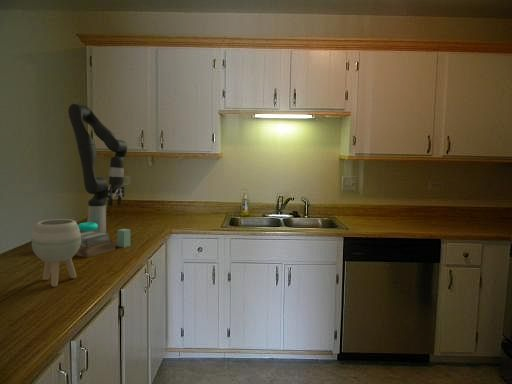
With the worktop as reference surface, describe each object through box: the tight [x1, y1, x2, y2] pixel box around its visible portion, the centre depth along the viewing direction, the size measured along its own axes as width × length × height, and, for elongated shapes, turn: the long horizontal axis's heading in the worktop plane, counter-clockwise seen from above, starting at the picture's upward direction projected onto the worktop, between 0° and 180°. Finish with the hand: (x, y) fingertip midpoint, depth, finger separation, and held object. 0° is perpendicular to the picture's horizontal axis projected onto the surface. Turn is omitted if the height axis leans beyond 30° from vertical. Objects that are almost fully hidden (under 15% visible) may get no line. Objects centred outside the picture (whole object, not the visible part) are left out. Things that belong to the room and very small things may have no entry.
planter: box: [31, 218, 81, 288], centre depth 142 cm, size 16×16×22 cm
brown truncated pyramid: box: [74, 231, 116, 258], centre depth 187 cm, size 17×17×8 cm
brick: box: [116, 228, 131, 248], centre depth 198 cm, size 4×4×8 cm
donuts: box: [77, 221, 98, 232], centre depth 205 cm, size 10×10×10 cm
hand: (115, 205), depth 213 cm, fingers open, 8 cm apart
